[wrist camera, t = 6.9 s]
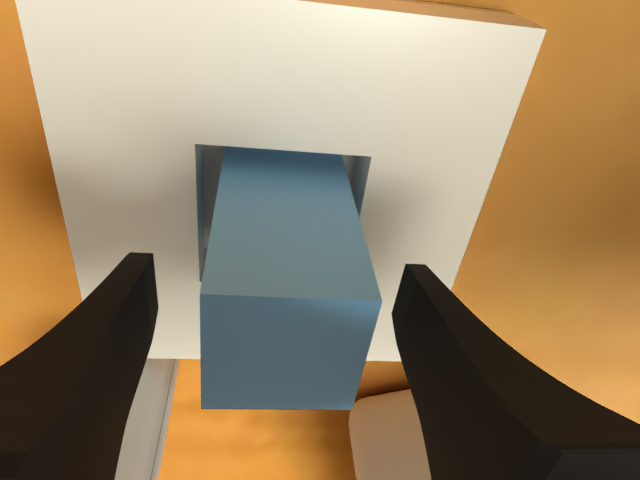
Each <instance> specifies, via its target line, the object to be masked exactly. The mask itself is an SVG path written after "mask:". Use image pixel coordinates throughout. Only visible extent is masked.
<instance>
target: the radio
mask: <svg viewBox="0 0 640 480" xmlns="http://www.w3.org/2000/svg"><path fill="white" fill-rule="evenodd" d="M349 433H350V440H351V447H352V454H353V461H354V468H355V475H356V480H431V475H430V469H429V464H428V458H427V453H426V448H425V443H424V438H423V433H422V428H421V423H420V420H419V416H418V412H417V409H416V405H415V402H414V399H413V396H412V393H411V390H410V389H407V390H402V391H397V392H391V393H386V394H381V395H376V396H370V397H365V398H362V399H359V400H358V401H356V402H355V403H354V405H353V408H352V410H351V411H350V415H349Z"/></svg>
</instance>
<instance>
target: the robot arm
mask: <svg viewBox="0 0 640 480" xmlns="http://www.w3.org/2000/svg"><path fill="white" fill-rule="evenodd" d="M158 308H159V307H158V297H157V287H156V278H155V268H154V258H153V253H137V252H130V253H128V254H127V255H126V256H125V257H124V258H123V259H122V261H121V262H120V263H119V264H118V265H117V266H116V267H115V268H114V269H113V270H112V272H111V273H110V274H109V275H108V276H107V277H106V278H105V279H104V280H103V281H102V282H101V283H100V284H99V285H98V286H97V287H96V288H95V289H94V290H93V291H92V292H91V293H90V294H89V295H88V296H87V297H86V298H85V299H84V300H83V301H82V302H81V303H80V304H79V305H78V306H77V307H76V308H75V309H74V310H73V311H71V312H70V313H69V314H68V315H67V316H66V317H65V318H64V319H63V320H61V321H60V322H59V323H58V324H57V325H56V326H55V327H53V328H52V329H51V330H50V331H49V332H47V333H46V334H45V335H44V336H42V337H41V338H40V339H39V340H37V341H36V342H35V343H33V344H32V345H31V346H29V347H28V348H27V349H25V350H24V351H23V352H21V353H20V354H18V355H17V356H15V357H14V358H12V359H11V360H9V361H8V362H6V363H5V364H3V365H2V366H0V480H115V475H116V469H117V464H118V459H119V455H120V450H121V445H122V441H123V436H124V431H125V427H126V423H127V419H128V416H129V412H130V409H131V406H132V403H133V400H134V396H135V393H136V390H137V387H138V384H139V381H140V378H141V375H142V372H143V369H144V366H145V363H146V359H147V356H148V353H149V350H150V347H151V344H152V340H153V335H154V330H155V325H156V319H157V314H158ZM391 315H392V321H393V328H394V334H395V339H396V344H397V348H398V351H399V354H400V358H401V361H402V364H403V367H404V371H405V374H406V377H407V380H408V383H409V386H410V390H411V393H412V396H413V399H414V402H415V405H416V409H417V412H418V416H419V420H420V423H421V428H422V433H423V438H424V443H425V448H426V453H427V458H428V464H429V469H430V475H431V480H640V424H638V423H636V422H634V421H632V420H630V419H628V418H626V417H624V416H622V415H620V414H618V413H616V412H614V411H612V410H610V409H608V408H606V407H604V406H602V405H600V404H598V403H596V402H594V401H592V400H591V399H589V398H587V397H585V396H584V395H582V394H580V393H578V392H577V391H575V390H573V389H572V388H570V387H568V386H567V385H565V384H563V383H562V382H560V381H558V380H557V379H555V378H554V377H552V376H551V375H549V374H548V373H546V372H545V371H543V370H542V369H540V368H539V367H537V366H536V365H535V364H533V363H532V362H530V361H529V360H528V359H526V358H525V357H524V356H522V355H521V354H520V353H518V352H517V351H516V350H514V349H513V348H512V347H511V346H509V345H508V344H507V343H506V342H504V341H503V340H502V339H501V338H500V337H498V336H497V335H496V334H495V333H494V332H493V331H492V330H490V329H489V328H488V327H487V326H486V325H485V324H484V323H483V322H482V321H480V320H479V319H478V318H477V317H476V316H475V315H474V314H473V313H472V312H471V311H470V310H469V309H468V308H467V307H466V306H465V305H464V304H463V303H462V302H461V301H460V300H459V299H458V298H457V297H456V296H455V295H454V294H453V293H452V292H451V291H450V290H449V288H448V287H447V286H446V285H445V284H444V283H443V282H442V281H441V280H440V279H439V278H438V277H437V276H436V275H435V274H434V273H433V272H432V271H431V269H430V268H429V267H428V266H427V265H425V264H405V267H404V271H403V274H402V278H401V282H400V285H399V289H398V292H397V296H396V299H395V303H394V306H393V310H392V313H391Z"/></svg>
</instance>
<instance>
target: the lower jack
mask: <svg viewBox="0 0 640 480" xmlns="http://www.w3.org/2000/svg"><path fill="white" fill-rule="evenodd" d="M15 2H16V7H17V11H18V15H19V20H20V24H21V29H22V33H23V38H24V42H25V47H26V51H27V56H28V60H29V65H30V69H31V74H32V78H33V82H34V87H35V91H36V96H37V100H38V105H39V109H40V114H41V118H42V123H43V127H44V132H45V136H46V141H47V145H48V150H49V154H50V158H51V163H52V167H53V172H54V176H55V181H56V185H57V190H58V194H59V199H60V203H61V208H62V212H63V217H64V221H65V226H66V230H67V234H68V239H69V243H70V248H71V252H72V257H73V261H74V266H75V270H76V275H77V279H78V284H79V288H80V293H81V297H82V301H83V300H84V299H85V298H86V297H87V296H88V295H89V294H90V293H91V292H92V291H93V290H94V289H95V288H96V287H97V286H98V285H99V284H100V283H101V282H102V281H103V280H104V279H105V278H106V277H107V276H108V275H109V274H110V273H111V272H112V270H113V269H114V268H115V267H116V266H117V265H118V264H119V263H120V262H121V261H122V259H123V258H124V257H125V256H126V255H127V254H128V253H130V252H137V253H153V258H154V268H155V278H156V287H157V297H158V307H159V308H158V314H157V319H156V325H155V330H154V335H153V340H152V344H151V347H150V350H149V353H148V356H147V358H155V359H201V356H200V289H201V283H202V277H203V272H204V266H205V260H206V254H207V249H208V243H209V237H210V231H211V225H212V220H213V214H214V208H215V202H216V196H217V191H218V185H219V179H220V173H221V167H222V162H223V156H224V150H225V146H232V147H246V148H259V149H273V150H287V151H301V152H314V153H328V154H341V155H342V158H343V162H344V166H345V169H346V173H347V176H348V180H349V183H350V187H351V191H352V194H353V198H354V201H355V205H356V208H357V212H358V216H359V219H360V223H361V226H362V230H363V234H364V237H365V241H366V244H367V248H368V251H369V255H370V259H371V262H372V266H373V269H374V273H375V276H376V280H377V284H378V287H379V291H380V294H381V298H382V305H381V309H380V312H379V316H378V319H377V323H376V326H375V330H374V333H373V337H372V340H371V344H370V348H369V351H368V355H367V358H366V361H401V358H400V354H399V351H398V348H397V344H396V339H395V334H394V328H393V321H392V315H391V313H392V310H393V306H394V303H395V299H396V296H397V292H398V289H399V285H400V282H401V278H402V274H403V271H404V267H405V264H425V265H427V266H428V267H429V268H430V269H431V271H432V272H433V273H434V274H435V275H436V276H437V277H438V278H439V279H440V280H441V281H442V282H443V283H444V284H445V285H446V286H447V287H448V288H449V290H450V291H451V289H452V286H453V283H454V281H455V278H456V275H457V272H458V270H459V267H460V264H461V262H462V259H463V256H464V253H465V251H466V248H467V245H468V242H469V240H470V237H471V234H472V232H473V229H474V226H475V223H476V221H477V218H478V215H479V213H480V210H481V207H482V204H483V202H484V199H485V196H486V193H487V191H488V188H489V185H490V183H491V180H492V177H493V174H494V172H495V169H496V166H497V163H498V161H499V158H500V155H501V153H502V150H503V147H504V144H505V142H506V139H507V136H508V134H509V131H510V128H511V125H512V123H513V120H514V117H515V114H516V112H517V109H518V106H519V104H520V101H521V98H522V95H523V93H524V90H525V87H526V84H527V82H528V79H529V76H530V74H531V71H532V68H533V65H534V63H535V60H536V57H537V55H538V52H539V49H540V46H541V44H542V41H543V38H544V35H545V33H546V30H547V29H545V28H543V27H541V26H539V25H537V24H535V23H532V22H530V21H528V20H526V19H524V18H522V17H520V16H518V15H516V14H514V13H512V12H508V11H500V10H492V9H484V8H475V7H467V6H459V5H451V4H442V3H434V2H426V1H418V0H15Z"/></svg>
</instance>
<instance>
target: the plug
mask: <svg viewBox="0 0 640 480" xmlns="http://www.w3.org/2000/svg"><path fill="white" fill-rule="evenodd" d="M381 305H382V298H381V294H380V291H379V287H378V284H377V280H376V276H375V273H374V269H373V266H372V262H371V259H370V255H369V251H368V248H367V244H366V241H365V237H364V234H363V230H362V226H361V223H360V219H359V216H358V212H357V208H356V205H355V201H354V198H353V194H352V191H351V187H350V183H349V180H348V176H347V173H346V169H345V166H344V162H343V158H342V155H341V154H328V153H314V152H301V151H287V150H273V149H259V148H246V147H232V146H225V150H224V156H223V162H222V167H221V173H220V179H219V185H218V191H217V196H216V202H215V208H214V214H213V220H212V225H211V231H210V237H209V243H208V249H207V254H206V260H205V266H204V272H203V277H202V283H201V289H200V356H201V409H275V410H352V408H353V404H354V401H355V397H356V394H357V390H358V387H359V383H360V380H361V376H362V372H363V369H364V365H365V362H366V358H367V355H368V351H369V348H370V344H371V340H372V337H373V333H374V330H375V326H376V323H377V319H378V316H379V312H380V309H381Z"/></svg>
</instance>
